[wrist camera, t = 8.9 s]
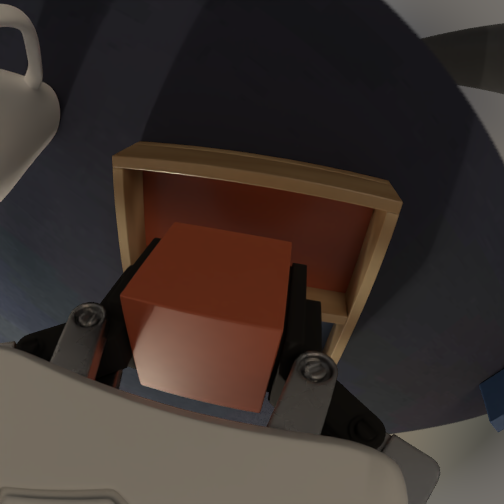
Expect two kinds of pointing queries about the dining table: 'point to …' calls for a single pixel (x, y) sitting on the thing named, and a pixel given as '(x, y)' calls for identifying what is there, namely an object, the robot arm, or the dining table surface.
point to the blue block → (494, 399)
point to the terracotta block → (209, 314)
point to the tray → (265, 216)
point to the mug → (24, 107)
